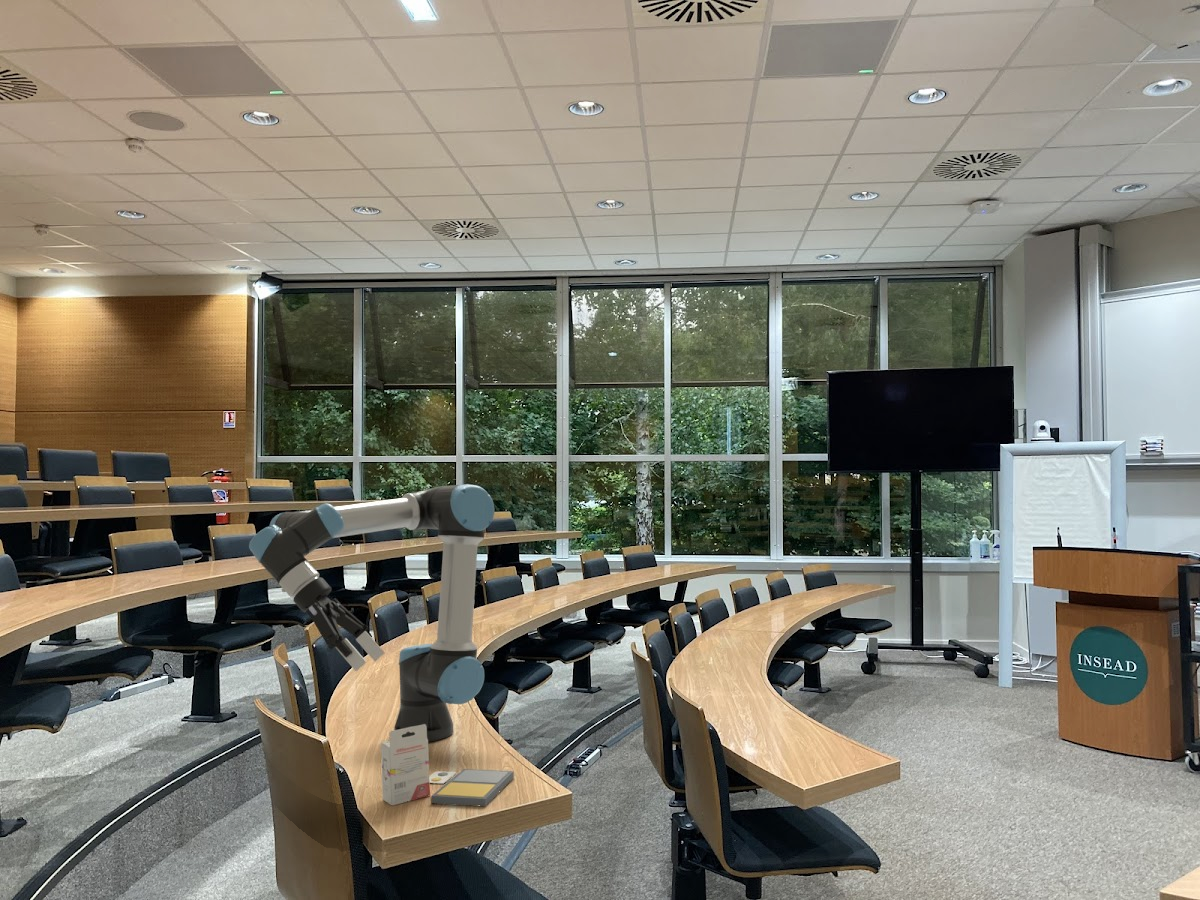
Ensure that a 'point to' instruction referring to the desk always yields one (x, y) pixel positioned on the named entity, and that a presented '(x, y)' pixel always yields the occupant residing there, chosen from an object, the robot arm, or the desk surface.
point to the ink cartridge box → (405, 765)
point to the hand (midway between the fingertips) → (371, 661)
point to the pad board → (472, 787)
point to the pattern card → (440, 777)
